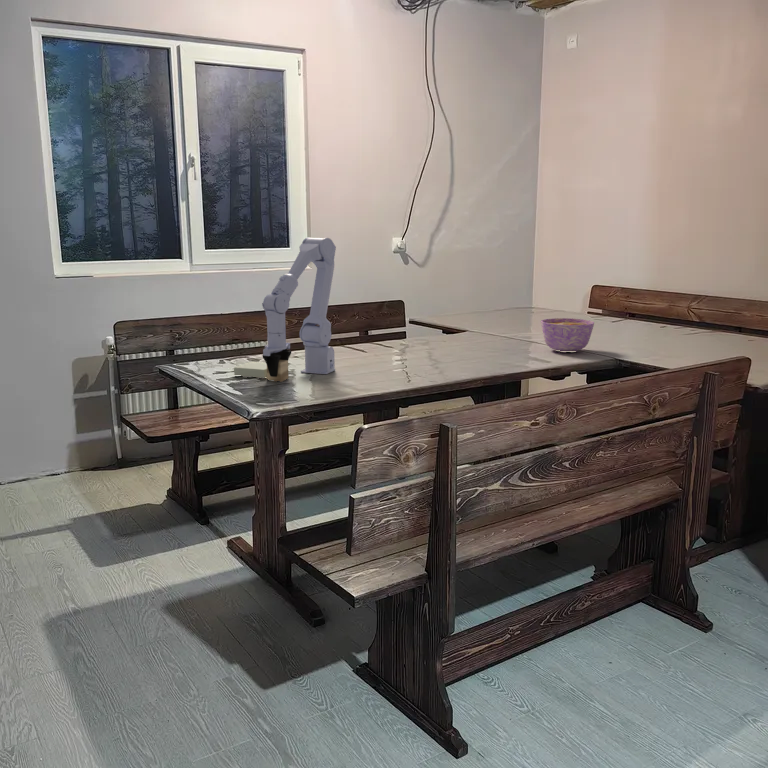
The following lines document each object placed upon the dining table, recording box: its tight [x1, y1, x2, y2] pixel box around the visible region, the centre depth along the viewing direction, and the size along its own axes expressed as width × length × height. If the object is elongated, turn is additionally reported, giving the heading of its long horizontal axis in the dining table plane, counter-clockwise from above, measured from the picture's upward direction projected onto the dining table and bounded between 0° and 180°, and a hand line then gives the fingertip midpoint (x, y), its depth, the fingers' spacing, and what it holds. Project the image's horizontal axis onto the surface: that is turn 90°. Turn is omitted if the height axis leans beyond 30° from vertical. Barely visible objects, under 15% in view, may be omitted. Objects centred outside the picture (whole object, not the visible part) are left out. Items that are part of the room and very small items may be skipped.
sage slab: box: [233, 361, 267, 378], centre depth 252 cm, size 11×11×3 cm
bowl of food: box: [540, 317, 595, 352], centre depth 295 cm, size 20×20×12 cm
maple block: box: [266, 359, 289, 383], centre depth 244 cm, size 5×5×6 cm
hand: (277, 374), depth 245 cm, fingers closed on maple block, 5 cm apart
